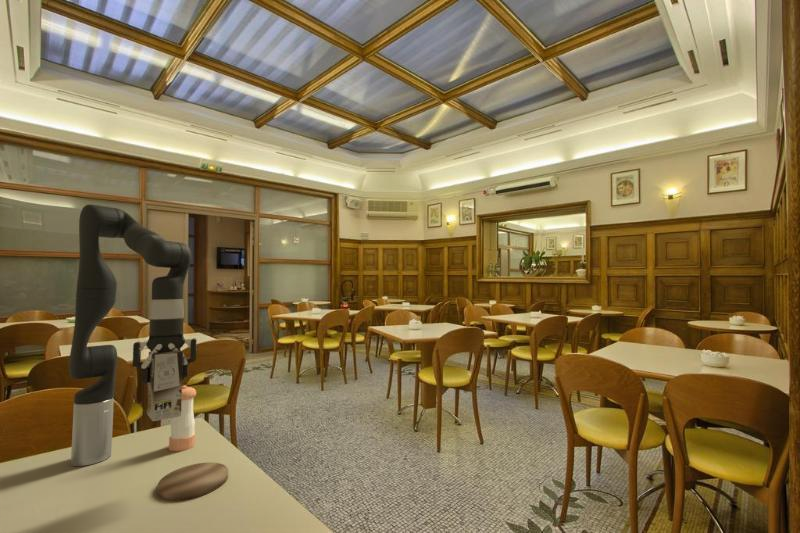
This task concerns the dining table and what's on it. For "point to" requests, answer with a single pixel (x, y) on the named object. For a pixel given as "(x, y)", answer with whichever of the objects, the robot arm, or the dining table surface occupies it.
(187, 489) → the disc
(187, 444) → the pepper shaker
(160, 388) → the coffee box
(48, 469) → the dining table surface
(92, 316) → the robot arm
